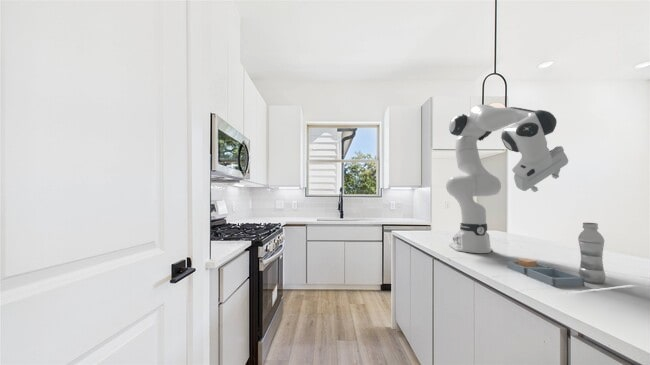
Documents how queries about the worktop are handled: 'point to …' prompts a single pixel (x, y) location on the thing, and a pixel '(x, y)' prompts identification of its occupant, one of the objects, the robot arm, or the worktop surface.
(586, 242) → the plastic bottle
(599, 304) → the worktop surface
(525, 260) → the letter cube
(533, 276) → the tray
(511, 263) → the blue-gray square tray
